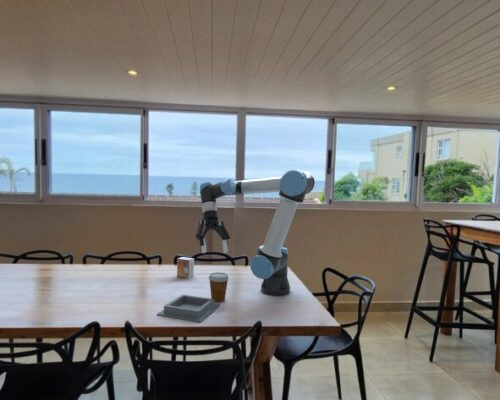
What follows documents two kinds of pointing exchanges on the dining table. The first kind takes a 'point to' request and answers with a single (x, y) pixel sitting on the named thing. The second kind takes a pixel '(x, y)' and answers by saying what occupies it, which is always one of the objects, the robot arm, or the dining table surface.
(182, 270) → the small box
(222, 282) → the disposable coffee cup
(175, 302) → the tray
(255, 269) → the robot arm
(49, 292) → the dining table surface
